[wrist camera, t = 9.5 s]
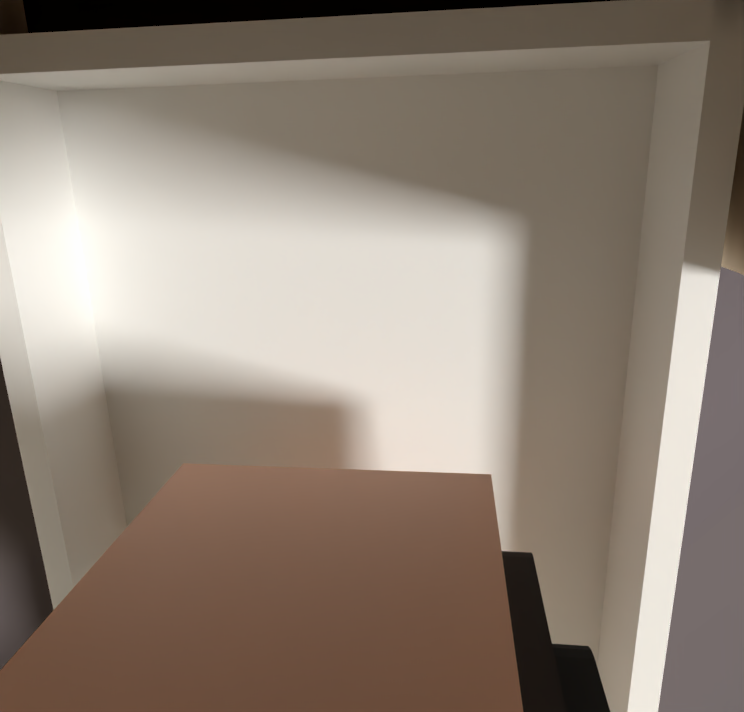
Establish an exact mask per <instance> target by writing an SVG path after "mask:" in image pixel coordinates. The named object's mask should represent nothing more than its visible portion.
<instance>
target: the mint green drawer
mask: <svg viewBox="0 0 744 712" xmlns="http://www.w3.org/2000/svg"><path fill="white" fill-rule="evenodd" d="M743 107H744V0H620V1H602V2H584V3H566V4H548V5H530V6H512V7H494V8H475V9H457V10H439V11H421V12H403V13H385V14H367V15H349V16H331V17H313V18H295V19H277V20H259V21H241V22H223V23H204V24H186V25H168V26H150V27H132V28H114V29H96V30H78V31H60V32H42V33H24V34H6V35H0V359H1V363H2V368H3V373H4V378H5V382H6V387H7V392H8V397H9V401H10V406H11V411H12V416H13V420H14V425H15V430H16V435H17V439H18V444H19V449H20V454H21V458H22V463H23V468H24V472H25V477H26V482H27V487H28V491H29V496H30V501H31V506H32V510H33V515H34V520H35V525H36V529H37V534H38V539H39V544H40V548H41V553H42V558H43V563H44V567H45V572H46V577H47V581H48V586H49V591H50V596H51V600H52V605H53V610H54V609H55V608H56V607H57V606H58V605H59V604H60V602H61V601H62V600H63V599H64V598H65V597H66V596H67V595H68V593H69V592H70V591H71V590H72V589H73V588H74V587H75V585H76V584H77V583H78V582H79V581H80V580H81V579H82V578H83V576H84V575H85V574H86V573H87V572H88V571H89V570H90V568H91V567H92V566H93V565H94V564H95V563H96V562H97V561H98V559H99V558H100V557H101V556H102V555H103V554H104V553H105V551H106V550H107V549H108V548H109V547H110V546H111V545H112V544H113V542H114V541H115V540H116V539H117V538H118V537H119V536H120V534H121V533H122V532H123V531H124V530H125V529H126V528H127V527H128V525H129V524H130V523H131V522H132V521H133V520H134V519H135V517H136V516H137V515H138V514H139V513H140V512H141V511H142V510H143V508H144V507H145V506H146V505H147V504H148V503H149V502H150V501H151V499H152V498H153V497H154V496H155V495H156V494H157V493H158V491H159V490H160V489H161V488H162V487H163V486H164V485H165V484H166V482H167V481H168V480H169V479H170V478H171V477H172V476H173V474H174V473H175V472H176V471H177V470H178V469H179V468H180V467H181V465H182V464H183V463H190V464H218V465H246V466H274V467H302V468H330V469H358V470H386V471H414V472H442V473H470V474H491V477H492V485H493V492H494V499H495V507H496V514H497V521H498V529H499V536H500V543H501V551H511V552H531V553H532V554H533V557H534V562H535V567H536V571H537V576H538V581H539V585H540V590H541V595H542V599H543V604H544V609H545V614H546V618H547V623H548V628H549V632H550V637H551V642H552V644H566V645H581V646H589V647H590V649H591V650H592V653H593V655H594V658H595V661H596V665H597V668H598V671H599V675H600V678H601V682H602V685H603V689H604V692H605V695H606V699H607V702H608V706H609V709H610V712H658V706H659V699H660V692H661V685H662V678H663V671H664V664H665V657H666V650H667V643H668V636H669V629H670V622H671V615H672V608H673V601H674V594H675V587H676V580H677V573H678V565H679V558H680V551H681V544H682V537H683V530H684V523H685V516H686V509H687V502H688V495H689V488H690V481H691V474H692V467H693V460H694V453H695V446H696V439H697V431H698V424H699V417H700V410H701V403H702V396H703V389H704V382H705V375H706V368H707V361H708V354H709V347H710V340H711V333H712V326H713V319H714V312H715V305H716V298H717V290H718V283H719V276H720V269H721V262H722V255H723V248H724V241H725V234H726V227H727V220H728V213H729V206H730V199H731V192H732V185H733V178H734V171H735V164H736V157H737V149H738V142H739V135H740V128H741V121H742V114H743Z"/></svg>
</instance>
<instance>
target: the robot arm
mask: <svg viewBox="0 0 744 712" xmlns="http://www.w3.org/2000/svg"><path fill="white" fill-rule="evenodd" d="M502 558H503V566H504V573H505V580H506V588H507V595H508V602H509V610H510V617H511V624H512V632H513V639H514V647H515V654H516V661H517V669H518V676H519V683H520V691H521V698H522V705H523V712H610V709H609V706H608V702H607V699H606V695H605V692H604V689H603V685H602V682H601V678H600V675H599V671H598V668H597V665H596V661H595V658H594V655H593V653H592V650H591V649H590V647H589V646H581V645H566V644H552V642H551V637H550V632H549V628H548V623H547V618H546V614H545V609H544V604H543V599H542V595H541V590H540V585H539V581H538V576H537V571H536V567H535V562H534V557H533V554H532V553H531V552H511V551H502Z"/></svg>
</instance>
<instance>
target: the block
mask: <svg viewBox="0 0 744 712" xmlns="http://www.w3.org/2000/svg"><path fill="white" fill-rule="evenodd" d="M0 712H523V705H522V698H521V691H520V683H519V676H518V669H517V661H516V654H515V647H514V639H513V632H512V624H511V617H510V610H509V602H508V595H507V588H506V580H505V573H504V566H503V558H502V551H501V543H500V536H499V529H498V521H497V514H496V507H495V499H494V492H493V485H492V477H491V474H470V473H442V472H414V471H386V470H358V469H330V468H302V467H274V466H246V465H218V464H190V463H183V464H182V465H181V467H180V468H179V469H178V470H177V471H176V472H175V473H174V474H173V476H172V477H171V478H170V479H169V480H168V481H167V482H166V484H165V485H164V486H163V487H162V488H161V489H160V490H159V491H158V493H157V494H156V495H155V496H154V497H153V498H152V499H151V501H150V502H149V503H148V504H147V505H146V506H145V507H144V508H143V510H142V511H141V512H140V513H139V514H138V515H137V516H136V517H135V519H134V520H133V521H132V522H131V523H130V524H129V525H128V527H127V528H126V529H125V530H124V531H123V532H122V533H121V534H120V536H119V537H118V538H117V539H116V540H115V541H114V542H113V544H112V545H111V546H110V547H109V548H108V549H107V550H106V551H105V553H104V554H103V555H102V556H101V557H100V558H99V559H98V561H97V562H96V563H95V564H94V565H93V566H92V567H91V568H90V570H89V571H88V572H87V573H86V574H85V575H84V576H83V578H82V579H81V580H80V581H79V582H78V583H77V584H76V585H75V587H74V588H73V589H72V590H71V591H70V592H69V593H68V595H67V596H66V597H65V598H64V599H63V600H62V601H61V602H60V604H59V605H58V606H57V607H56V608H55V609H54V610H53V611H52V613H51V614H50V615H49V616H48V617H47V618H46V619H45V621H44V622H43V623H42V624H41V625H40V626H39V627H38V628H37V630H36V631H35V632H34V633H33V634H32V635H31V636H30V638H29V639H28V640H27V641H26V642H25V643H24V644H23V645H22V647H21V648H20V649H19V650H18V651H17V652H16V653H15V655H14V656H13V657H12V658H11V659H10V660H9V661H8V662H7V664H6V665H5V666H4V667H3V668H2V669H1V670H0Z"/></svg>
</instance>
